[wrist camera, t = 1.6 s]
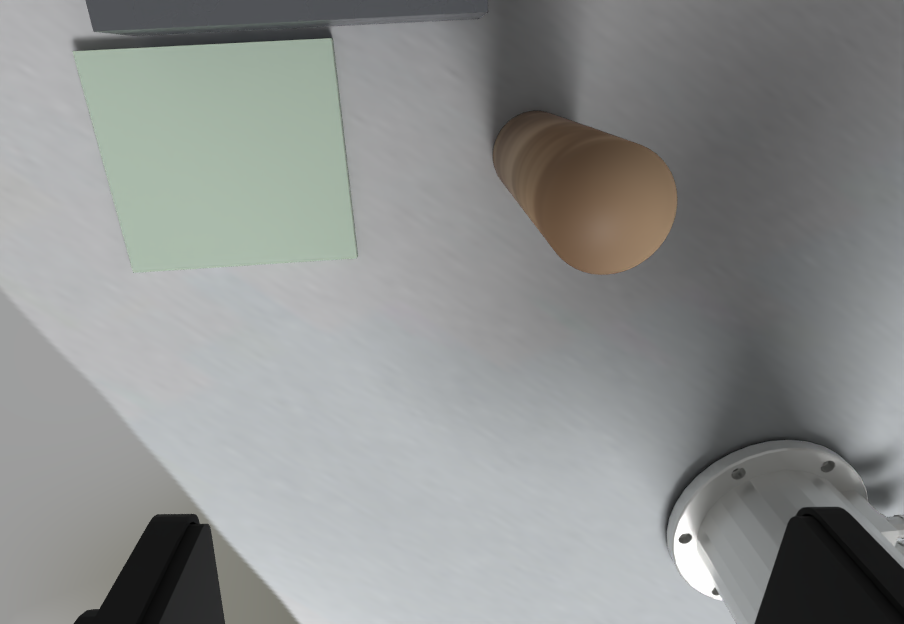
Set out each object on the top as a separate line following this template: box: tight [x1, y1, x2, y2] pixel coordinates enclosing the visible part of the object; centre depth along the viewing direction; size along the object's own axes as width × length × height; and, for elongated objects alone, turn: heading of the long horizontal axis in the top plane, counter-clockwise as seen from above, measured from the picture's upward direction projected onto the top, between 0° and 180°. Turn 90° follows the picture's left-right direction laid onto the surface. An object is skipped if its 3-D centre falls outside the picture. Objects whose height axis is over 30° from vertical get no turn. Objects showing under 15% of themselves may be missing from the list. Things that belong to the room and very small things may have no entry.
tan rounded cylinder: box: [493, 111, 677, 275], centre depth 23 cm, size 4×4×12 cm
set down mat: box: [73, 38, 358, 273], centre depth 27 cm, size 11×10×1 cm
